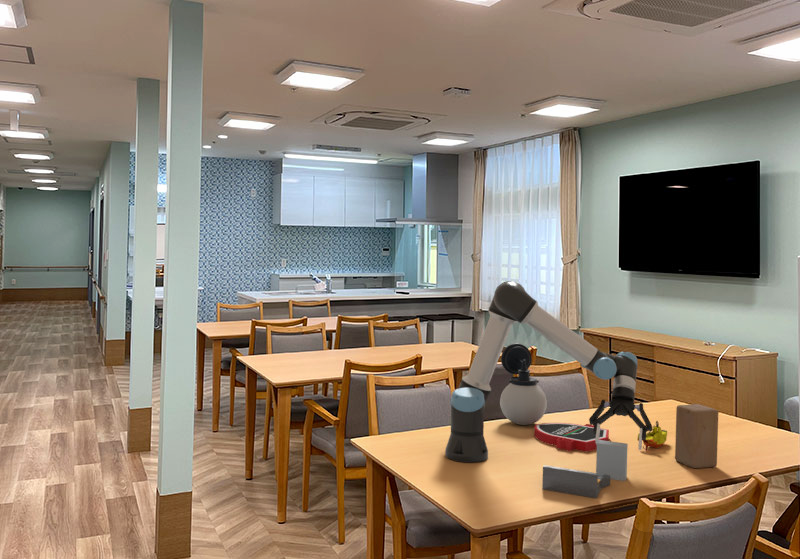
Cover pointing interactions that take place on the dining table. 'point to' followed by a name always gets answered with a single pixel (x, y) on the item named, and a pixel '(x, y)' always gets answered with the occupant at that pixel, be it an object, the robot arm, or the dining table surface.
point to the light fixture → (521, 388)
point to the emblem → (569, 435)
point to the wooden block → (696, 435)
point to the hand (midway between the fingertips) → (618, 445)
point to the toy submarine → (655, 437)
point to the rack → (573, 481)
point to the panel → (612, 459)
